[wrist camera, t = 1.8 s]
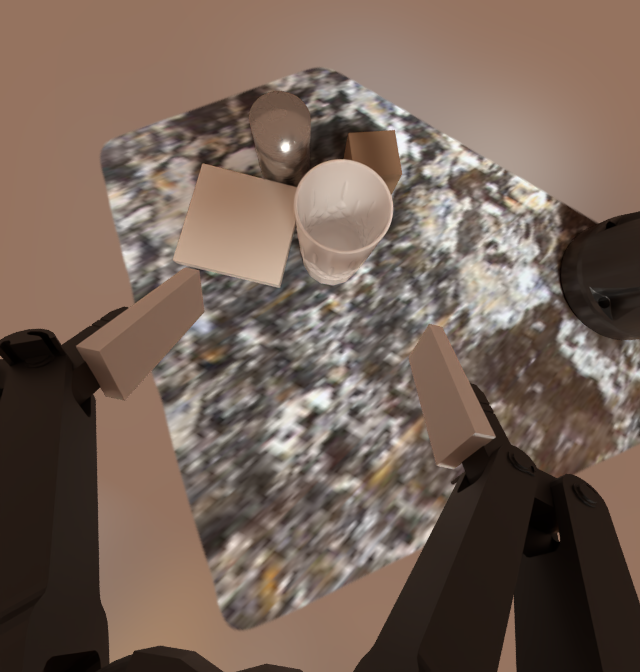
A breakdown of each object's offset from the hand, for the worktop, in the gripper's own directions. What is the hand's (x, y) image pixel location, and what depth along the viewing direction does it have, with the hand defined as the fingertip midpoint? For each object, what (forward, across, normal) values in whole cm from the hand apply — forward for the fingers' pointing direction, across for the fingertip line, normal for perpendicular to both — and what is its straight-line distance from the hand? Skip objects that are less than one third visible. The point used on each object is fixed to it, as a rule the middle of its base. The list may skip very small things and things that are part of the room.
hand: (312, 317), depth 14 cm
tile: (+18, -10, -2) cm, 21 cm away
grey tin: (+24, -8, +4) cm, 25 cm away
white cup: (+17, 0, -3) cm, 17 cm away
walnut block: (+24, +2, +4) cm, 24 cm away
